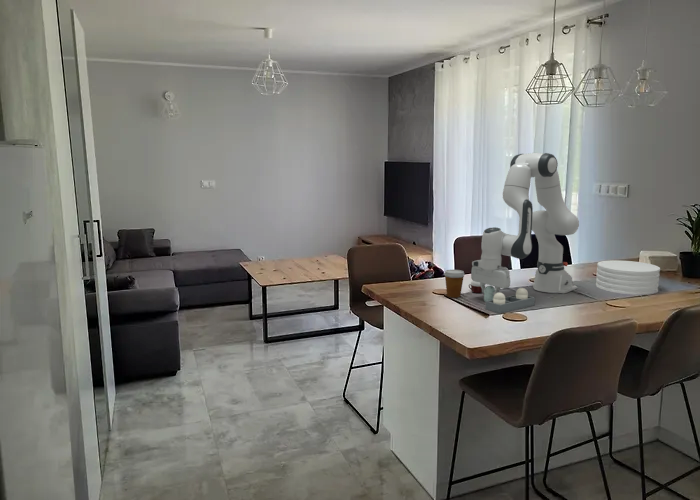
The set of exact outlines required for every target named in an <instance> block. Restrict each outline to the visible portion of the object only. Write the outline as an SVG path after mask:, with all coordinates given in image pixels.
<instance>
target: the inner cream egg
mask: <svg viewBox="0 0 700 500" xmlns="http://www.w3.org/2000/svg"><path fill="white" fill-rule="evenodd" d="M515 295H516V298H519V299H522V300H523V299H528V296H529V292H528V290H527V289H526V288H525V287H519V288H518V289H517V290H516V292H515Z"/></svg>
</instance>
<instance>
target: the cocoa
mask: <svg viewBox="0 0 700 500" xmlns="http://www.w3.org/2000/svg"><path fill="white" fill-rule="evenodd" d="M470 283H471V284H470ZM470 283H469V284H468V288H469V289H470V290H471V292H473V293H475V294H481V293H482V288H481V286H480V282H476V281H473V280H471V282H470Z"/></svg>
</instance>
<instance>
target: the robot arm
mask: <svg viewBox="0 0 700 500" xmlns="http://www.w3.org/2000/svg"><path fill="white" fill-rule="evenodd" d="M509 164H510V166H509V170H508V172H507V175H506V177H505V181H504V184H503V190H502V199H503V201H504V203H505V204H506V205H507V206H508V207H510V208H511V209H513V210H514V211H516V212H517V214H518V217H519V220H518V221H519V222H518V233H517V235H516V234H510V233H507V232H504V231H502V229H501V228H499V227H496V226H495V227H487V228H485V229H483V232H482V237H481V245H480V246H481V256H480V259H477V260H474V261H473V260H472V262H471V265H472V267H471V274H470V278H471V281H476V282H480V286H481V288H482V292H481V293H483V294H484V289H485V288H486V285H487V286H493V287H494V288H495V291H494V292H493V296H494V295H495V294H496V293H498V292H499V291H500V290H501V289H503V290H504V289H509V288H510V287H511V277H510V276H511V275H510V270H509V269H508V268H507V267H506V266H502V255H503V256H508V257H512V258H516V259H517V260H523V259H526V258H527V257H529V255H531V253H532V250H533V243H532V242H533V241H532V232H533V233H534V234H535V238H536V239H537V242H538V260H537V264H536V265H537V266H536V268H537V270H536V271H535V275H534V281H533V283H532V284H531V286H532V287H533V290H535V291H538V292H543V293H549V294H551V293H553V294H558V293H559V294H567V293H569V292H572V291H574V290H577V289H578V286H577V285H575V284H573V277H572V275H571V274H569V272H568V271H566V269H565V267H568V264H569V263H568V262H567V261H563V256H564V255H563V254H564V246H563V245H562V243H560V242H559V241H558V240H557V238H556V236H571V235H575V233H576V232H577V231H578V229H579V227H580V221H579V218H578V217H577V215H576V214H574V213H573V212H572V211H571V210H570V209H569V208H568V206H567V205H566V202H565V201H564V198H563V194H562V187H561V180H560V176H559V175H560V174H559V172H558V159H557V157H555V155H554V154H552V153H550V152H549V153H548V152H545V153H542V152H532V153H531V152H530V153H519V154H515V155H514V156H513V157H512V158H511V161H510V163H509ZM532 178H534V187H535V193H536V198H537V202H538V204H539V205H540V206H542V208H544V209H545V210H543V209H542V210H534V211H533V209H534V208H533V203H532V201H530V197H529V196H530V195H529V193H530V187H531V181H532Z"/></svg>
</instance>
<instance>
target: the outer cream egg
mask: <svg viewBox="0 0 700 500" xmlns="http://www.w3.org/2000/svg"><path fill="white" fill-rule="evenodd" d="M505 297H506V295H505V294H504V293H502V292H499V291H498V293H496V294H495V295H494V297H493V303H496V304H499V305H501V304H505Z"/></svg>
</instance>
